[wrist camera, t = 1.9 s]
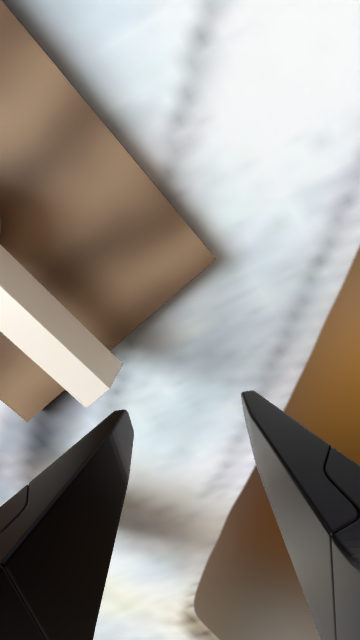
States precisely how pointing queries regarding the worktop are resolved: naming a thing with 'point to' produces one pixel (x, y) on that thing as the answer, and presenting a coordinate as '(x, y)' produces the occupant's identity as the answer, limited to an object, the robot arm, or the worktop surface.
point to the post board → (78, 214)
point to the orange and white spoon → (52, 334)
